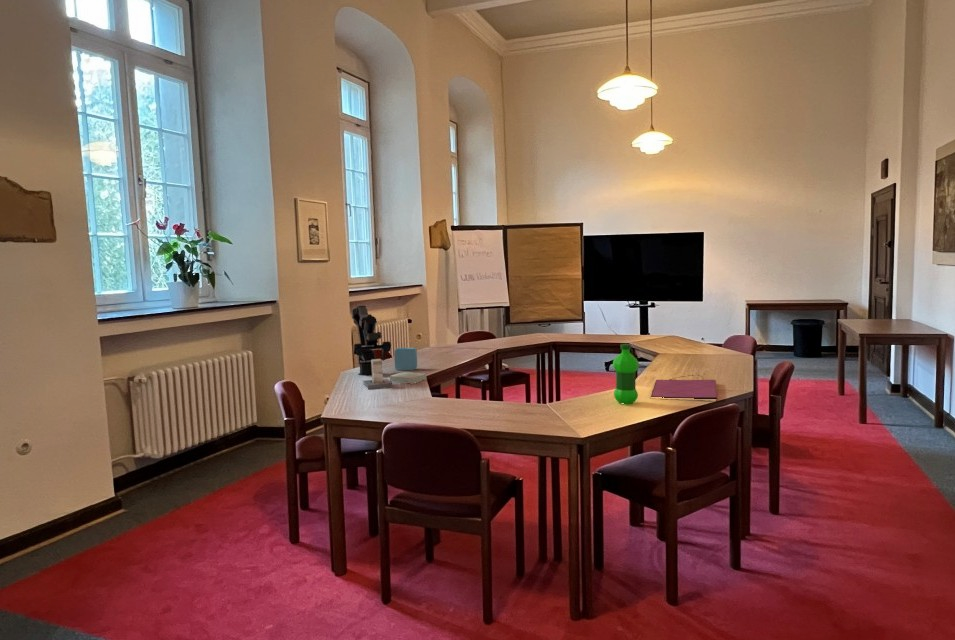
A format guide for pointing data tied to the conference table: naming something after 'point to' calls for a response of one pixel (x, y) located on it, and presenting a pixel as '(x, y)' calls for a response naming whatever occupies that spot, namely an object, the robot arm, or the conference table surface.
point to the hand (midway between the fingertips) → (374, 361)
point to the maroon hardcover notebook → (685, 389)
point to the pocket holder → (377, 384)
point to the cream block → (377, 371)
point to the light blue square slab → (405, 358)
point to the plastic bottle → (625, 375)
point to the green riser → (408, 377)
